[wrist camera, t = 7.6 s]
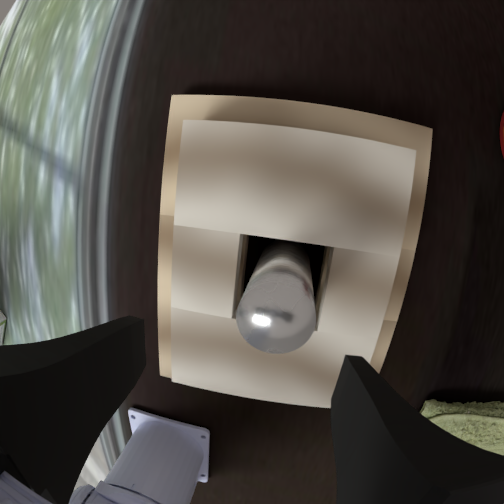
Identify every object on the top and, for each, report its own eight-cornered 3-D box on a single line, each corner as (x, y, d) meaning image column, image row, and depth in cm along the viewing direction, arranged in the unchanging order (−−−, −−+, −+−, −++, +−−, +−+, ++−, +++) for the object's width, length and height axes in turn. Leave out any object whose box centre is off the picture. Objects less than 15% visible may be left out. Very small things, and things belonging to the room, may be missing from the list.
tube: (304, 291, 20) (305, 359, 12) (255, 282, 20) (231, 345, 13) (314, 244, 19) (324, 291, 12) (264, 234, 20) (242, 275, 12)
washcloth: (419, 389, 21) (430, 414, 18) (534, 394, 20) (547, 410, 17) (358, 477, 25) (361, 500, 22) (474, 471, 23) (481, 488, 20)
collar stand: (363, 397, 22) (370, 430, 18) (165, 367, 23) (147, 394, 20) (425, 131, 16) (451, 123, 13) (178, 99, 18) (154, 85, 15)
